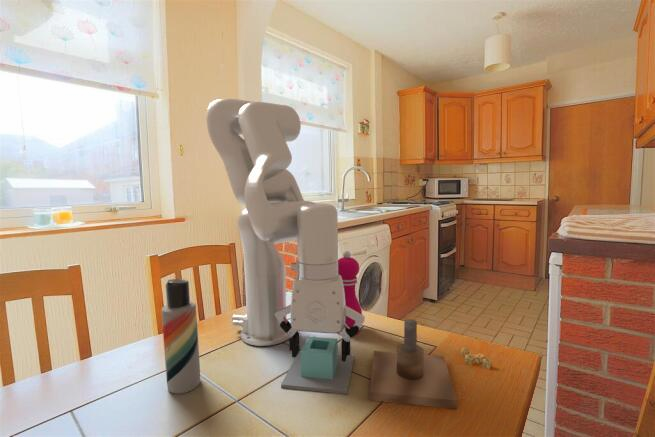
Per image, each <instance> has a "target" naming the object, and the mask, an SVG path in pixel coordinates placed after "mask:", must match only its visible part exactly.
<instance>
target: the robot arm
mask: <svg viewBox="0 0 655 437" xmlns="http://www.w3.org/2000/svg"><path fill="white" fill-rule="evenodd" d="M205 116H206V117H205V118H206V127H207V128H206V129H207V131H208V135H209V138H210V140H211V143H212V144H213V147H214V148H215V150H216V151H217V153H218V155H219V156H220V158H221V160H222V162H223V164H224V168H225V172H226V175H227V177H228V181H229V184H230V186H231V189H232V192H233V194H234V195H233V196H234V197H235V199H236V201H237V202H238V203H240V204H241V205H245V208H244V209H243V210H242V211H241V212H239V216H238V218H237V227H238V228H237V230H238V233H239V238H240V242H241V246H242V255H243V269H244V288H245V290H244V291H245V311H246V312H245V313H246V314H245V315H242V314H233V316H232V318H231V320H232V326H233V327H241V328H242V329H241V330H240V339H241V340H242V341H243V342H244V343H246V344H248V345H252V346H257V347H258V346H259V347H264V346H265V347H268V346H274V345H277V344H281V343H283V342H286V341H287V340H288V341H289V343H288V344H289V348H288V349H289V351H290V352H291V357H292V358H294V359H295V357H296V356H297V354H298V352H300V351H301V350H300V349H301V348H300V332H305V333H317V334H318V333H320V334H338V333H339V334H338V335H340V337H341V338H342V339H341V345H340V347H341V355H342V361H343V362H346V357H347V355H350V356H351V339H352V338H353V337H355V336H356V335H358V334H359V333H360V332H359V329H360V330H361V328H362V326H363V324H364V323H365V319H366V317H365V315H363V313H362V314H360V313H358V312H356V311H355V310H353V309H351V308H349V307H347V306H346V303H345V293H344V286H343V281H342V277H341V275H338V260H339V236H338V235H339V231H338V230H339V228H338V223H339V221H338V220H339V218H338V217H339V216H338V209H337V207H336V206H335V205H334V204H329V203H316V202H314V201H310V200H304V197H303V195H302V192H301V190H300V187H299V184H298V182H297V180H296V177H295V176H294V175H293V173H292V172H291V171H290V170H288V169H287V168H289V166H290V165H291V163H292V161H293V160H292V158H293V157H292V152H291V150H290V147H289V146H288V143H287V142H289V143H290V142H293V141H295V140H297V138H298V137H299V135H300V133H301V127H302V126H301V125H302V124H301V118H300V117H299V114H298V113H297V111H296V110H295V109H294V108H293V107H292V106H290V105H285V104H278V103H277V104H276V103H272V102H271V103H270V102H265V101H253V100H252V101H251V100H245V99H239V98H238V99H237V98H219V99H216V100H213V101H212V102H210V103H209V105H208V107H207V110H206V115H205ZM240 135H242V136H243V137H241V136H240ZM296 241H297V261H296V262H291V263H290V270H291V271H296V276H295V277H293V282H292V287H291V288H292V290H291V301H290V304H289V305H287V293H286V292H287V288H286V286H287V284H286V264H285V260H284V257H283V256H282V255H283V254H281V253H280V252H279V250H278V249H277V247H276V245H278V244H282V243H290V242H296ZM289 314H290V321H289V320H288V319H287V317H288V315H289ZM346 316H348V317H350V318H351V319H353V320H355V324H354V325H353V326H352V327H351V328H349V327H348V326H347V325H346V323H345V321H346ZM358 332H359V333H358ZM357 333H358V334H357Z"/></svg>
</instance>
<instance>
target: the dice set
mask: <svg viewBox="0 0 655 437" xmlns="http://www.w3.org/2000/svg"><path fill="white" fill-rule="evenodd" d="M460 351H461V353H460V355H461V357H463V358H464V359H465V364H467V365H469V366H470V365H473V364H474V360H475V362H476V364H482V368H484V369H487V370H488V369H491V367H492V360H490V359H489V358H485V355H484V354H482V353H479V354H478V353H477V354H470V350H469V348H466V347H465V348H464V347H462V348H461V350H460Z"/></svg>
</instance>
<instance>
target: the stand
mask: <svg viewBox="0 0 655 437" xmlns="http://www.w3.org/2000/svg"><path fill="white" fill-rule="evenodd" d="M403 323H404V324H403V325H404V327H403V328H404V331H403V332H404V335H403V336H404V338H403V340H404V341H403V343H400V344H398V345H397V346H396V352H393V351H383V350H382V351H381V350H373V353H372V362H371V363H372V366H371V375H370V376H371V377H370V384H369V400H370V401H375V402H385V403H395V404H402V405H403V404H404V405H405V404H406V405H412V406H413V405H415V406H424V407H433V408H434V407H435V408H445V409H453V410H454V409H457V407H458V398H457V396H456V393H455V390H454V386H453V382H452V380H451V377H450V372H449V369H448V367H447V366H448V365H447V362H446V359H445V356H444V355H435V354H424V353H425V350H424V348H423V347H422V346H420V345H418V344H417V339H418V338H417V335H418V333H417V332H418V330H417V328H418V327H417V326H418V321H417V320H415V319H411V318H409V319H408V318H407V319H405V320H404V321H403Z"/></svg>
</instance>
